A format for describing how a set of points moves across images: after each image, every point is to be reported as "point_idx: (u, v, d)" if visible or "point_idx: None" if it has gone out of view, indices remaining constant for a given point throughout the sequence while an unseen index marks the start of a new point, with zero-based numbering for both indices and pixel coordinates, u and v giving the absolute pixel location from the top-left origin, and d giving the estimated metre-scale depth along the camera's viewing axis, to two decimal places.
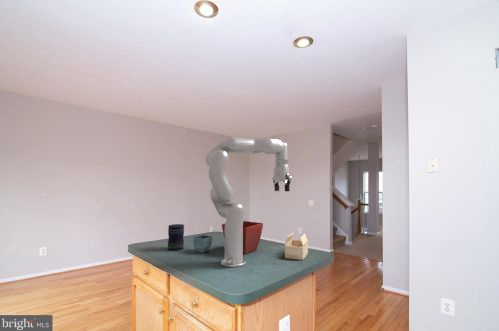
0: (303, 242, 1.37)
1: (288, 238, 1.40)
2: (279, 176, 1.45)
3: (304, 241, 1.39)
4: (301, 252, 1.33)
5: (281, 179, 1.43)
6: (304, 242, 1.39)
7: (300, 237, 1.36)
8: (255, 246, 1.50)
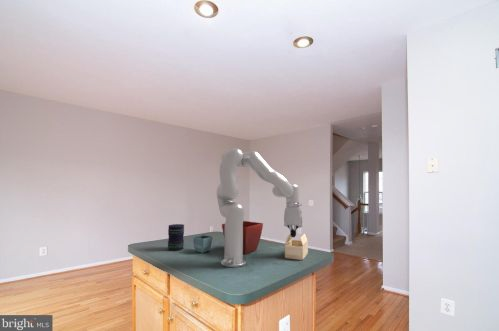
0: (303, 242, 1.37)
1: (288, 238, 1.40)
2: None
3: (304, 241, 1.39)
4: (301, 252, 1.33)
5: None
6: (304, 242, 1.39)
7: (300, 237, 1.36)
8: (255, 246, 1.50)
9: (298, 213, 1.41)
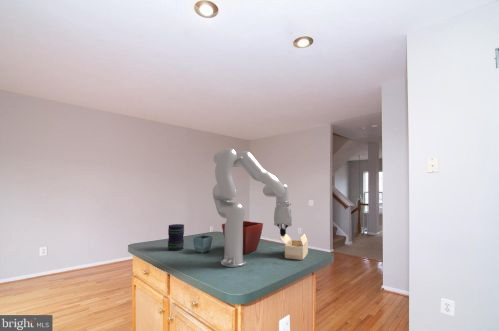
0: (303, 242, 1.37)
1: (282, 238, 1.41)
2: None
3: (304, 241, 1.39)
4: (301, 252, 1.33)
5: None
6: (304, 242, 1.39)
7: (300, 237, 1.36)
8: (255, 246, 1.50)
9: (287, 212, 1.44)
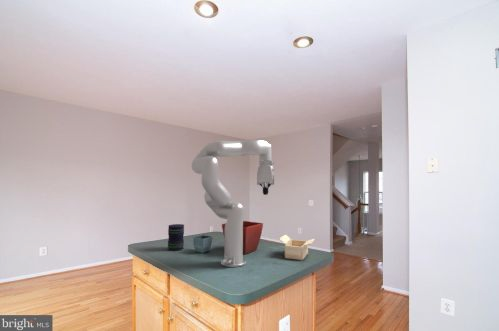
0: (306, 244, 1.36)
1: (282, 239, 1.41)
2: None
3: (307, 243, 1.39)
4: (301, 252, 1.33)
5: None
6: (306, 243, 1.38)
7: None
8: (255, 246, 1.50)
9: (270, 170, 1.43)
